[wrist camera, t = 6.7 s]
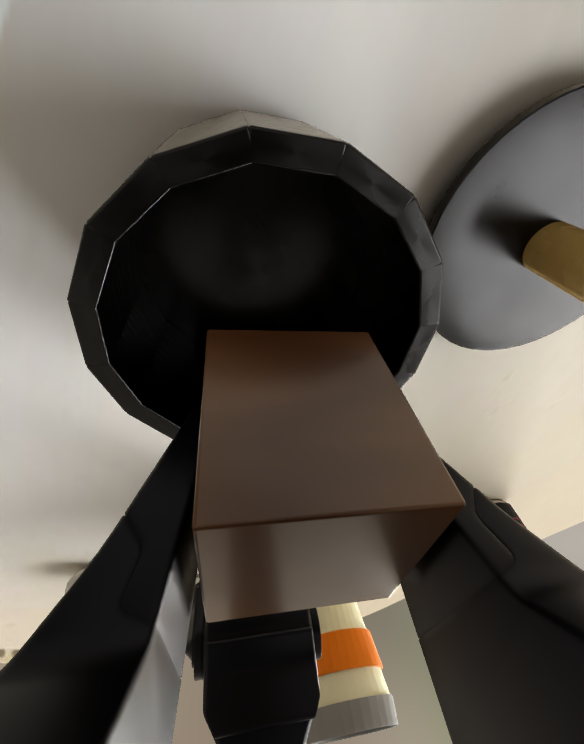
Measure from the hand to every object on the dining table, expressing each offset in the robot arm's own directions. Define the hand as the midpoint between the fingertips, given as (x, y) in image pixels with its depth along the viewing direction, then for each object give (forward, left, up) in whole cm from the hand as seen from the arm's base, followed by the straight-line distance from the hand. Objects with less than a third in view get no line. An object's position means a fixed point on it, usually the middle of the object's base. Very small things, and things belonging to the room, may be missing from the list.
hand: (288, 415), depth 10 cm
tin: (0, 0, -10) cm, 10 cm away
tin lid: (-3, -15, -10) cm, 18 cm away
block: (0, 0, -1) cm, 1 cm away
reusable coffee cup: (-57, +6, -11) cm, 58 cm away
